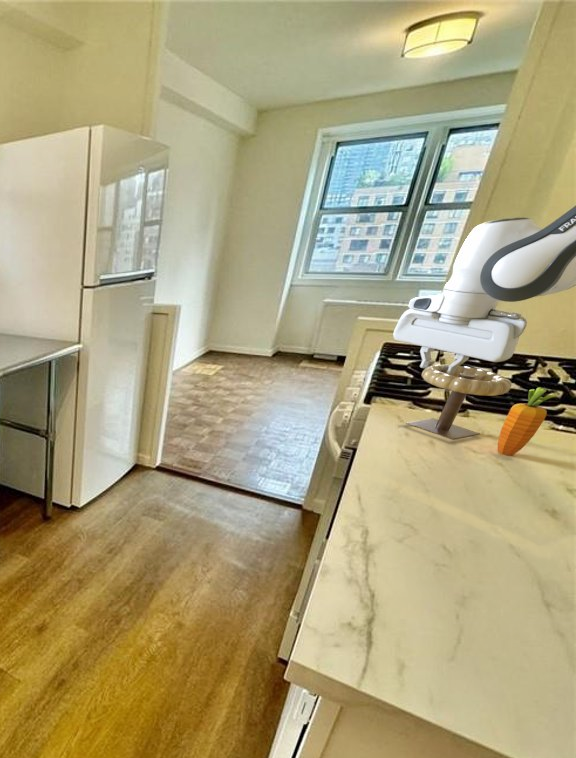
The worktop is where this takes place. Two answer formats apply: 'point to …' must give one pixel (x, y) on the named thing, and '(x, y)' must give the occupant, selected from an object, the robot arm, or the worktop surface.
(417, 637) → the worktop surface
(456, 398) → the brown peg stand
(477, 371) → the bracelet
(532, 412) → the carrot
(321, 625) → the worktop surface
